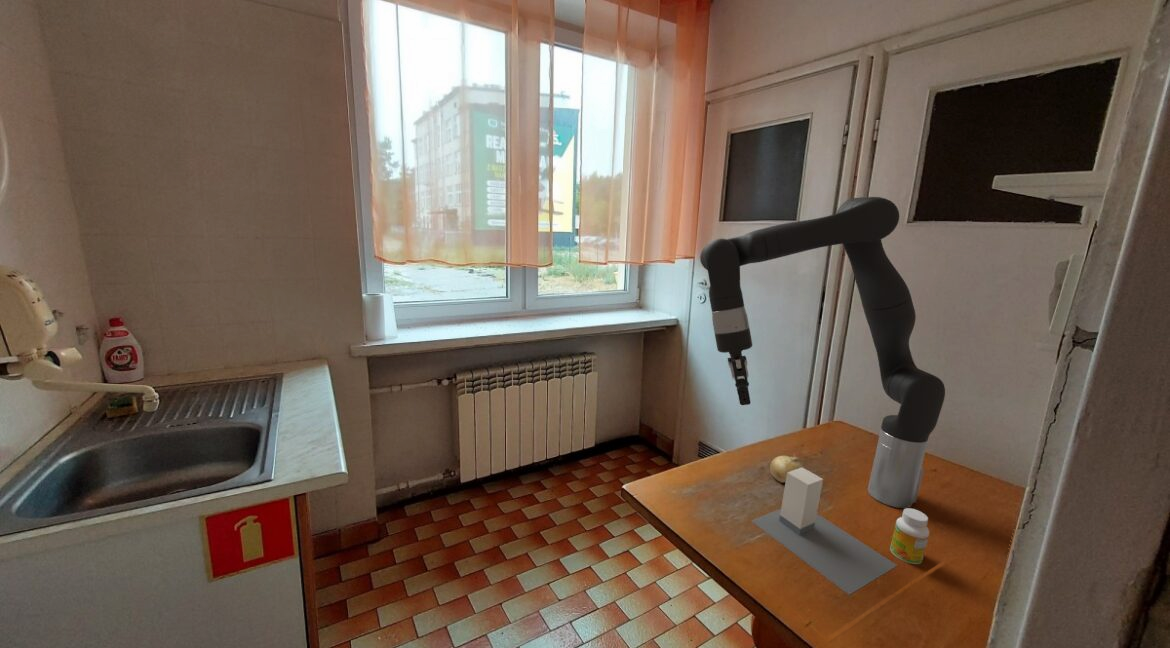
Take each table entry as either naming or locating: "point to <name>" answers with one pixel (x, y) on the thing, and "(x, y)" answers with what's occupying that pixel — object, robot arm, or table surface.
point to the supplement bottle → (910, 536)
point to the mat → (829, 552)
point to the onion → (784, 467)
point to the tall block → (800, 500)
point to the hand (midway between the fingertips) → (744, 399)
